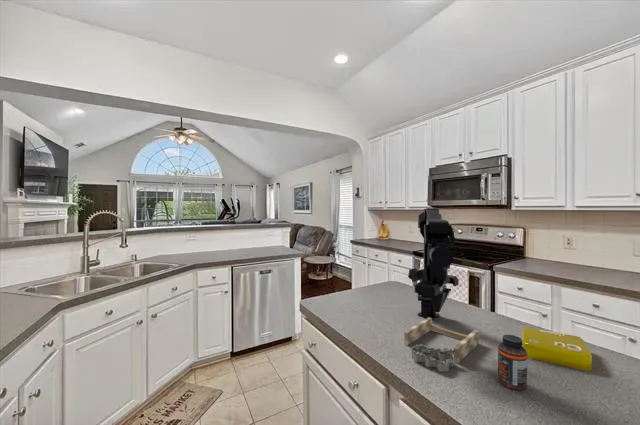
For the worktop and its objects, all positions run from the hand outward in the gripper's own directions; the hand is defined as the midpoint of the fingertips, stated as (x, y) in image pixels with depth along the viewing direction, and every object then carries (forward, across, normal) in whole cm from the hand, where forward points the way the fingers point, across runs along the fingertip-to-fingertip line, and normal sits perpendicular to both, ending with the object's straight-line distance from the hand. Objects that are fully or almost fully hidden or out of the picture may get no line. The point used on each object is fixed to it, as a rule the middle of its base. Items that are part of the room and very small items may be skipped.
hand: (437, 312), depth 90 cm
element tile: (+12, -21, +26) cm, 35 cm away
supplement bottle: (+11, +6, +21) cm, 24 cm away
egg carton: (+11, +10, +3) cm, 15 cm away
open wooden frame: (+11, -3, 0) cm, 11 cm away
